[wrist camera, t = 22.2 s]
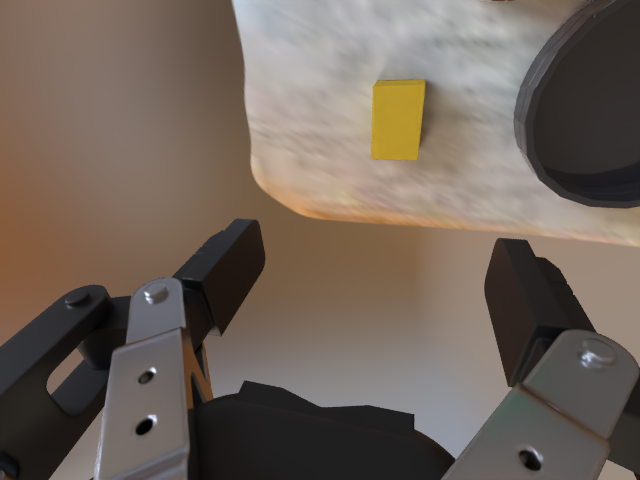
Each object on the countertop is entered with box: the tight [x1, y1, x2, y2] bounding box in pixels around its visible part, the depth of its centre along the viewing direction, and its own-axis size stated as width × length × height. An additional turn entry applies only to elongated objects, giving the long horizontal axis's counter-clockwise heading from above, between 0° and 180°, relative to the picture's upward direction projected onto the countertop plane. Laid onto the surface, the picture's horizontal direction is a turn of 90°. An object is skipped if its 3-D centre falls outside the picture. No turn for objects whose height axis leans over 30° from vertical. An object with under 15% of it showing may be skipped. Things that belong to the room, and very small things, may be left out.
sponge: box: [371, 79, 426, 160], centre depth 28 cm, size 6×4×3 cm, turn 4°
